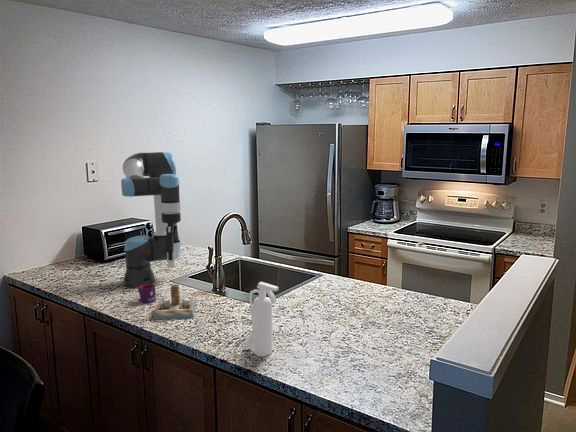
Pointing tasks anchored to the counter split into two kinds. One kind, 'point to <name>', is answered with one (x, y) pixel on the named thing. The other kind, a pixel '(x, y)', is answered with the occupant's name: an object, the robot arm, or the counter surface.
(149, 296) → the red patterned cup
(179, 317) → the board
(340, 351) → the counter surface
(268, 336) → the fire extinguisher
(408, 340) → the counter surface
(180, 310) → the peg stand base
